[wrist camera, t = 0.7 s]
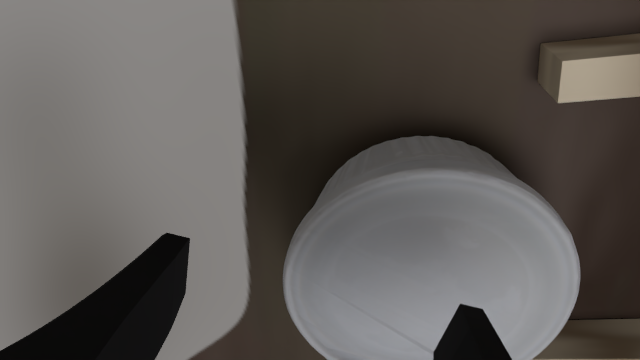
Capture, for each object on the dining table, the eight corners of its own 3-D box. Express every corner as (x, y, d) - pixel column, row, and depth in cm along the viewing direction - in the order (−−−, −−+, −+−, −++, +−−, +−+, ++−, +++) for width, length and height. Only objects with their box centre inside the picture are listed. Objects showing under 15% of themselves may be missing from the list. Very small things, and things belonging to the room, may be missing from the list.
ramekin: (297, 297, 26) (281, 379, 22) (301, 102, 21) (280, 157, 16) (508, 318, 26) (536, 408, 21) (569, 121, 20) (626, 184, 15)
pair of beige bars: (515, 341, 26) (527, 380, 24) (540, 43, 18) (562, 61, 16) (656, 339, 25) (683, 380, 23) (745, 22, 17) (797, 38, 15)
